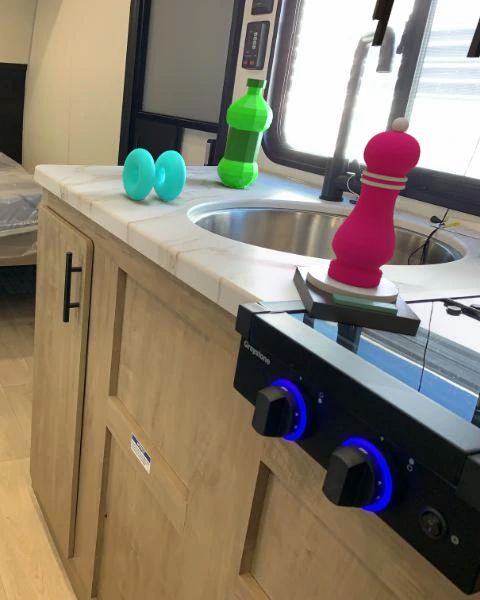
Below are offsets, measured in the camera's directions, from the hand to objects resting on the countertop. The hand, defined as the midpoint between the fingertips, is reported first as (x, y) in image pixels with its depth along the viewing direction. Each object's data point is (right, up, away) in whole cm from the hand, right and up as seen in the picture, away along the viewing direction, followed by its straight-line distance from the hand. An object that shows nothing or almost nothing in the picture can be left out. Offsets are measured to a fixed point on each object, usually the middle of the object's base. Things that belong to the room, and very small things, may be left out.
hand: (423, 52), depth 88 cm
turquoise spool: (-37, -17, +33) cm, 52 cm away
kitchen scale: (-17, -37, -12) cm, 43 cm away
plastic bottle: (-13, -9, +60) cm, 62 cm away
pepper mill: (-16, -34, -12) cm, 40 cm away
